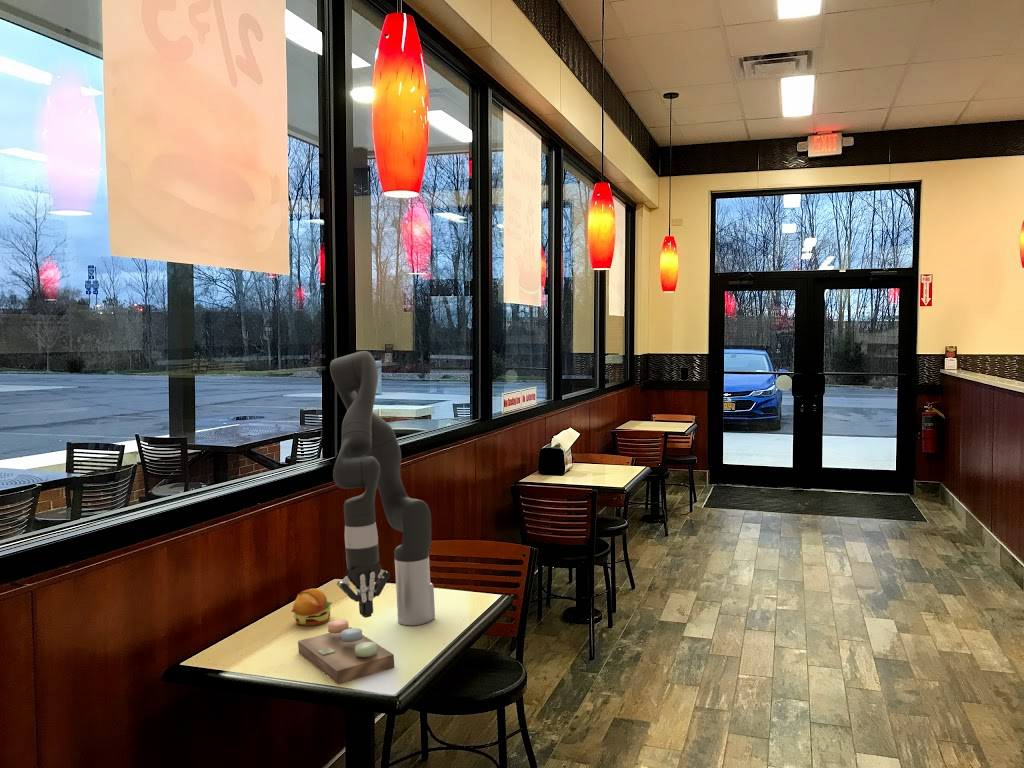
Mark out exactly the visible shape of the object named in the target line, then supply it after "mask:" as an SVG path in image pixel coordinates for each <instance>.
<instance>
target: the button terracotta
mask: <svg viewBox="0 0 1024 768" xmlns="http://www.w3.org/2000/svg"><path fill="white" fill-rule="evenodd" d="M349 627H350V626H349V621H348V620H347V619H336V620H332V621H329V622H328V623H327V633H341V632H342V631H343V630H346V629H349Z"/></svg>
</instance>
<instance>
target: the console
mask: <svg viewBox="0 0 1024 768" xmlns="http://www.w3.org/2000/svg"><path fill="white" fill-rule="evenodd" d="M350 628H352V627H350V626H349V629H350ZM364 642H374V643H376V642H375V641H373V640H372V639H370V638H368V637H367V636H365V635H364V634H362V639H361V640H359V641H355V642H343V641H341V633H330V632H327V633H324V634H323V633H322V634H319V635H315V636H312V637H308V638H304V639H300V640H298V641H297V647H298V648H297V649H298V654H300V656H302V657H303V658H304V659H306V660H307V661H308V662H310V663H311V664H312V665H313V666H314V667H316V668H317V669H318V670H319V669H320V670H319V671H321V673H323V672H324V673H325V674H324V673H323V674H324V675H326V676H327V675H328V676H329V677H330V680H332V681H333V682H334V683H336V684H337V685H340V684H343V683H347V682H349V681H352V680H357V679H359V678H363V677H366V676H369V675H373V674H377V673H379V672H382V671H386V670H387V671H388V670H389V669H392V668H393V669H394V668H395V658H394V657H395V655H394V653H392V652H390V650H387V649H386V648H384V647H383V646H381V645H380V644H378V643H376V644H377V653H376V654H375V655H372V656H369V657H358V656H356V655H355V646H356V645H358V644H360V643H364ZM328 676H327V677H328ZM329 677H328V678H329Z"/></svg>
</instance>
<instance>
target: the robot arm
mask: <svg viewBox="0 0 1024 768" xmlns="http://www.w3.org/2000/svg"><path fill="white" fill-rule="evenodd" d="M329 370H330V376H331V378H332V381H333V383H334V387H335V388H336V390H337V393H338V395H339V396H340V399H341V401H342V403H343V406H344V407H345V409H346V413H345V415H344V418H343V420H342V424H341V445H340V449H339V453H338V456H337V458H336V460H335V463H334V465H333V466H334V467H333V470H332V479H333V481H334V484H335V486H337V487H338V488H340V489H346V490H347V489H357V488H358V489H359V488H365V490H364V492H363V493H362V494H360V495H357V496H354V497H351V498H348V499H346V500H345V501H344V502H343V516H344V517H343V518H344V545H345V546H344V548H345V561H346V571H345V576H344V577H343V578H342V579H341V580H339V581H337V584H336V585H337V586H338V588H339V589H341V591H343V593H344V594H345V595H346V596H347V597H348V598H350V599H351V600H352V601H354V602H356V603H357V602H358V609H359V612H358V613H359V615H361V616H362V617H363V618H364V619H366V618H370V617H372V614H373V613H374V603H373V601H374V599H375V598H376V597H379V596H381V593H382V592H383V590H384V588H385V586H386V584H387V583H388V581H389V579H390V577H391V573H390V572H388V571H387V570H384V569H382V566H381V563H380V552H379V551H380V550H379V549H380V548H379V536H378V535H379V534H378V528H377V527H378V526H377V522H376V505H375V503H376V494H377V490H378V492H379V495H380V499H381V503H382V507H383V511H384V514H385V516H386V521H387V522H388V524H389V526H391V528H392V529H394V530H395V531H398V532H402V543H401V544H399V545H397V546H396V547H395V548H394V569H395V570H394V571H395V590H396V608H397V611H396V612H397V622H398V624H400V625H404V626H419V625H424V624H427V623H430V622H431V621H432V620H435V619H436V613H435V612H436V610H435V591H434V589H435V588H434V584H433V583H432V582H431V571H430V570H431V569H430V555H429V554H430V548H431V547H432V514H431V513H432V512H431V509H430V507H429V505H428V504H427V503H426V501H424V500H422V499H418V498H411V497H410V496H409V494H408V493H407V491H406V489H405V486H404V484H403V481H402V477H401V466H402V450H401V447H400V445H399V442H398V439H397V436H396V433H395V431H394V429H393V428H392V426H391V425H390V424H389V423H388V422H387V421H385V420H384V419H383V418H381V416H379V415H378V414H376V413H375V412H374V411H373V410H374V405H375V399H376V395H377V387H378V381H379V369H378V366H377V363H376V360H375V358H374V356H373V354H372V353H371V352H369V351H368V350H362V351H357V352H353V353H351V354H347V355H344V356H340V357H337V358H334V359H332V360H331V362H330V364H329ZM357 391H358V392H357ZM351 584H352V585H353V586H354V590H355V591H353V590H352V588H351Z"/></svg>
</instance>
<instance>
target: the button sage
mask: <svg viewBox="0 0 1024 768" xmlns="http://www.w3.org/2000/svg"><path fill="white" fill-rule="evenodd" d="M374 642H375V641H373V642H364V643H360V644H358V645H356V646H355V655H356V656H358V657H369V656H372V655H375V654H376V653H377V644H378V643H376V642H375V643H374Z"/></svg>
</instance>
